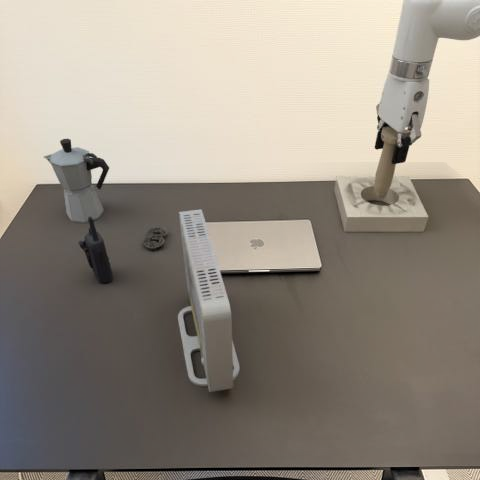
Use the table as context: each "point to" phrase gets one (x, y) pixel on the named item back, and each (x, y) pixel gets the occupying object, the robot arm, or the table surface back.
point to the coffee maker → (78, 180)
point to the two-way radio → (96, 254)
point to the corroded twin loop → (155, 237)
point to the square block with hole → (379, 217)
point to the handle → (386, 162)
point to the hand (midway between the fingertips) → (389, 154)
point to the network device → (206, 307)
